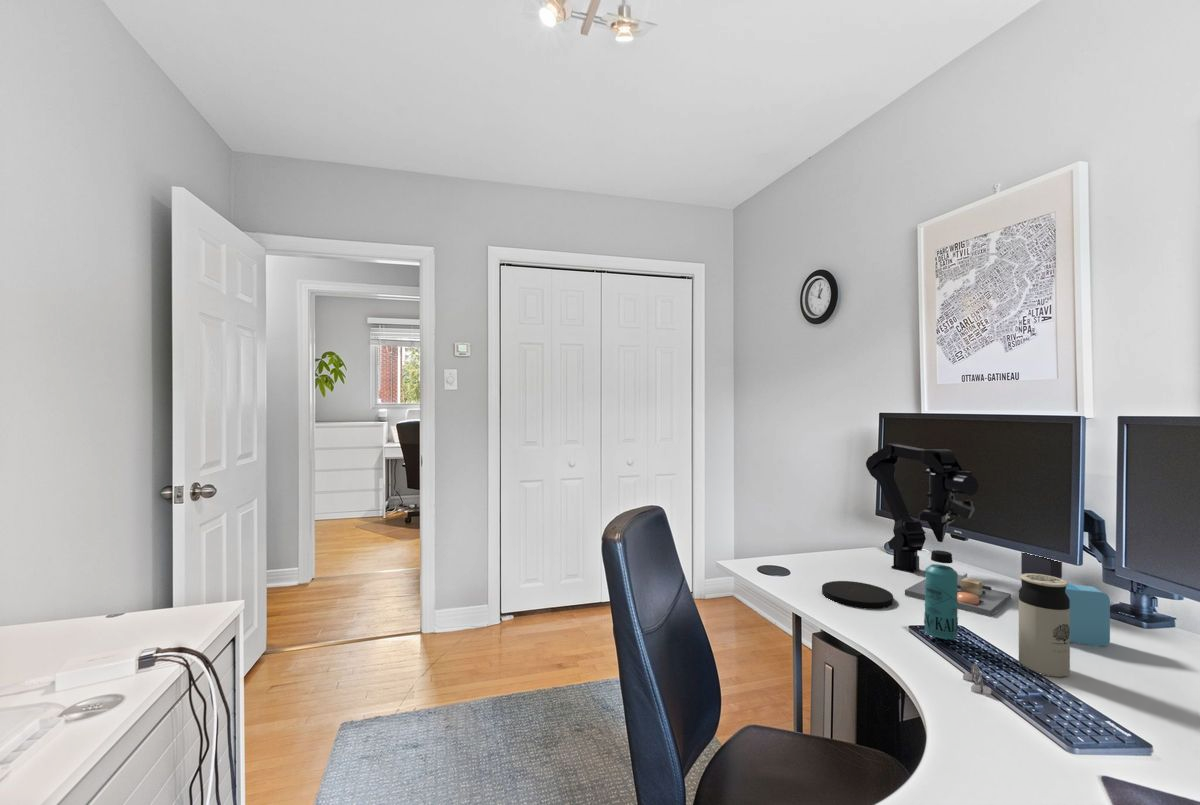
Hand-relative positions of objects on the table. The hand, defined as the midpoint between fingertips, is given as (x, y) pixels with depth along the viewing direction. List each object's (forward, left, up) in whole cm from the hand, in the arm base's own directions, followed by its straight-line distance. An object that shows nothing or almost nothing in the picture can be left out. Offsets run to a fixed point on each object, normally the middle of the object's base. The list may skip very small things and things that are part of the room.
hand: (940, 541), depth 165 cm
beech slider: (+11, -11, -10) cm, 19 cm away
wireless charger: (-10, -34, -13) cm, 38 cm away
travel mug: (+33, -47, -12) cm, 59 cm away
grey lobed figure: (+28, -69, -13) cm, 76 cm away
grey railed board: (+8, -12, -12) cm, 19 cm away
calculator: (+22, +12, -12) cm, 28 cm away
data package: (+34, -24, -12) cm, 43 cm away
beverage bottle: (+15, -48, -12) cm, 52 cm away
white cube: (+6, -5, -10) cm, 13 cm away
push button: (+12, -18, -12) cm, 25 cm away
